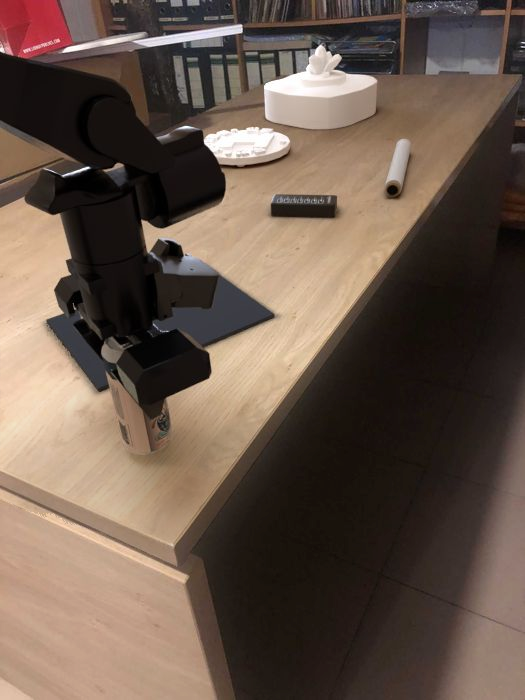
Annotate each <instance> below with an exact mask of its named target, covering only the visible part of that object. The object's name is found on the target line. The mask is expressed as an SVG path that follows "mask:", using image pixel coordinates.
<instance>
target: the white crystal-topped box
mask: <svg viewBox="0 0 525 700" xmlns="http://www.w3.org/2000/svg"><path fill="white" fill-rule="evenodd" d="M314 51H315V52H314V53H313V54H312V55H310V56H309V57H308V63H309V64H308V65H307V67H306V68H305V69H306V71H301V72H297V73H294V74H291V75H288V76H286V77H284V78H281V79H275V80H272V81H269V82H267V83H265V85H264V87H263V91H264V92H263V93H264V94H263V95H264V112H265V113H264V114H265V115H264V116H265V119H266V120H267V121H269V122H271V123H275V124H278V125H283V126H284V125H285V126H290V127H294V128H299V129H305V130H318V131H319V130H335V129H341V128H345V127H348V126H352V125H354V124H357V123H359V122H362V121H363V120H366V119H368V118H370V117H373V116H374V115H375V114H376V111H377V94H378V79H377V78H375V77H374V76H372V75H368V74H358V73H357V74H354V73H346V72H344V71H343V70H338V69H335V68H336V67H337V66H338V65H339V63H340V62H341V60H342V59H343V57H342V56H341V55H340V54H339V53H337V54H334V55H332V53H331V51H327V50H326V48H325V47H324V46H323V44H320V45H318V46H317V47H316V49H315V50H314Z"/></svg>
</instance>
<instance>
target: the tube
mask: <svg viewBox="0 0 525 700" xmlns="http://www.w3.org/2000/svg"><path fill="white" fill-rule="evenodd" d="M411 149H412V142H411V141H410V140H409V139H407V138H401V139H399V140H398V141H397V143H396V145H395V148H394V153H393V155H392V159H391V162H390V167H389V169H388V173H387V177H386V181H385V184H384V192H385V193H386V195H387V196H389V197H391V198H393V197H397V196H398V195H399V194H401V193H402V189H403V185H404V182H405V176H406V171H407V167H408V164H409V159H410V154H411Z"/></svg>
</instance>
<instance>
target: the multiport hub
mask: <svg viewBox="0 0 525 700" xmlns="http://www.w3.org/2000/svg"><path fill="white" fill-rule="evenodd" d="M271 199H272V200H271V202H270V216H271V217H282V218H316V219H317V218H318V219H319V218H323V219H334V218H336V214H337V211H338V196H337V195H335V194H334V195H333V194H293V193H291V194H290V193H289V194H288V193H286V194H285V193H282V194H281V193H276V194H274V195H273V197H272V198H271Z"/></svg>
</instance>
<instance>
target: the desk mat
mask: <svg viewBox="0 0 525 700" xmlns="http://www.w3.org/2000/svg"><path fill="white" fill-rule="evenodd" d="M74 309H75V308H74ZM172 312H173V317H171V318H168V319H166V320H163V321H159V320H158V319H157V320H154V321H153V324H154V325H155V326H156V327H157V328H158V329H159V330H160V331H161V332H165V331H171V330H174V329H176V328H177V329H179V330H181V331H183V332H185V333H187V334H189V335H190V336H191V337H192V338H193V339H194V340H195V341H196V342H198V343H199V344H200V345H201V346H202V347H203V348H205V347H207V346H210V345H212V344H214V343H216V342H219V341H221V340H224V339H227V338H228V337H230V336H232V335H236V334H238V333H240V332H242V331H245V330H248V329H250V328H252V327H254V326H257V325H259V324H260V323H261V324H262V323H264V322H267V321H269V320H271V319H273V318H275V313H274V312H273V311H271V310H270V309H268V308H267V307H266V306H265V305H263V304H262V303H260V302H259V301H257V300H256V299H254V298H253V297H252V296H250V295H249V294H248V293H246V292H245V291H243V290H242V289H241V288H239V287H237V286H236V285H235V284H233V283H232V282H230V281H229V280H228V279H226V278H225V277H223V276H222V275H221V274H219V279H218V284H217V288H216V293H215V298H214V302H213V307H212V308H211V309H202V308H201V307H196V308H173V307H172ZM80 319H81V316H80V313H79V312H78V311H77V310H76V309H75V316H73V317H70V318H68V317H67V316H66V315H65V314H64V312H63V313H61V314H58V315H55V316H52V317H49V318H46V320H45V321H46V323H47V325H48V326H49V327H50V329H51V330H52V331H53V333H54V334H55V335H56V337H57V338H58V339H59V341H60V342H61V343H62V345H63V346H64V347H65V349H66V351H68V353H69V354H70V355H71V357H72V358H73V359H74V361H75V362H76V363H77V365H78V366H79V368H80V369H81V370H82V371H83V373H84V374H85V375H86V376H87V378H88V380H89V381H90V382H91V383H92V385H93V386H94V387H95V389H96V390H97V391H98V392H102V391H104V390H106V389H108V388H109V389H110V387H109V383H108V379H107V375H106V370H105V366H104V363H103V362H102V361H101V359H100V358H99V357H98V356H97V355H96V353H95V352H94V351H93V350H92V349H91V347H90V346H89V345H88V344H87V342H86V341H85V340H84V339H83V338H82V336H81V335H80V334H79V333H78V332H77V330H76V329H75V328H74V326H73V324H74V322H76V321H77V320H80Z"/></svg>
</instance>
